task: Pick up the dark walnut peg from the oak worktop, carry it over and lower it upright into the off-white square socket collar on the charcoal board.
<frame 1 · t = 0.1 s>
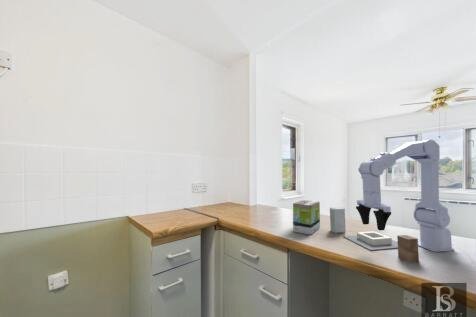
hand: (373, 226, 78), 10 cm above the worktop, tool pointing down, fingers open, 7 cm apart
skincare box: (337, 231, 104), on the worktop
tea box: (307, 230, 107), on the worktop
socket board: (373, 241, 89), on the worktop
walnut peg: (408, 259, 72), on the worktop
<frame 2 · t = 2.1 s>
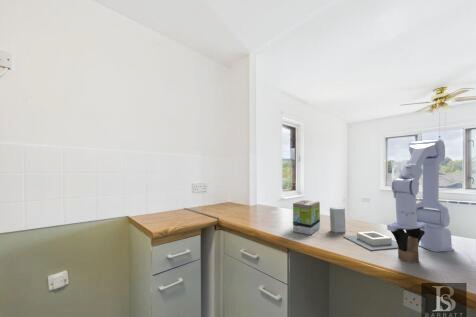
hand: (407, 249, 72), 3 cm above the worktop, tool pointing down, fingers closed on walnut peg, 4 cm apart
walnut peg: (408, 259, 72), on the worktop, touching gripper
everything else where it was.
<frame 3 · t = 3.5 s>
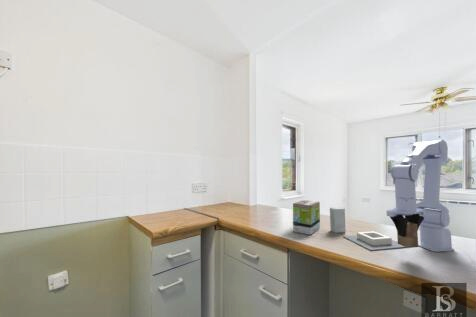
hand: (407, 235, 72), 8 cm above the worktop, tool pointing down, fingers closed on walnut peg, 4 cm apart
walnut peg: (407, 245, 72), point 5 cm above the worktop, touching gripper
everything else where it was.
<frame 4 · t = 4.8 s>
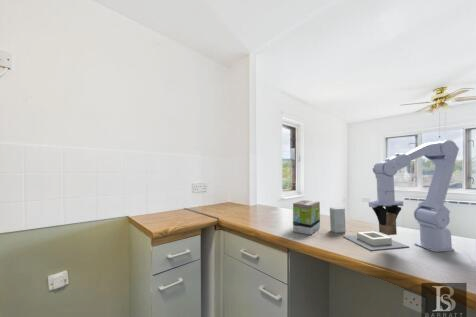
hand: (387, 224, 81), 10 cm above the worktop, tool pointing down, fingers closed on walnut peg, 4 cm apart
walnut peg: (387, 233, 81), point 6 cm above the worktop, touching gripper
everything else where it was.
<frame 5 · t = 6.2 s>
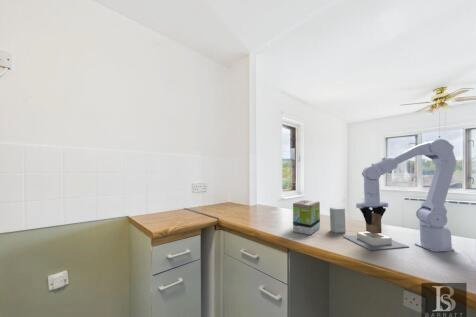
hand: (373, 223, 89), 8 cm above the worktop, tool pointing down, fingers closed on walnut peg, 4 cm apart
walnut peg: (373, 232, 89), point 4 cm above the worktop, touching gripper
everything else where it was.
when the fingers open (4 cm above the worktop, at t = 7.4 s): walnut peg stays where it is, resting on socket board.
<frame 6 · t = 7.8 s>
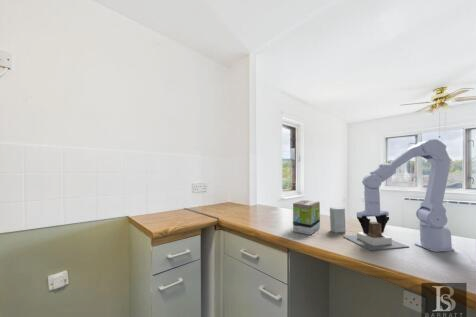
hand: (373, 232, 89), 4 cm above the worktop, tool pointing down, fingers open, 7 cm apart
walnut peg: (374, 241, 89), resting on socket board
everything else where it was.
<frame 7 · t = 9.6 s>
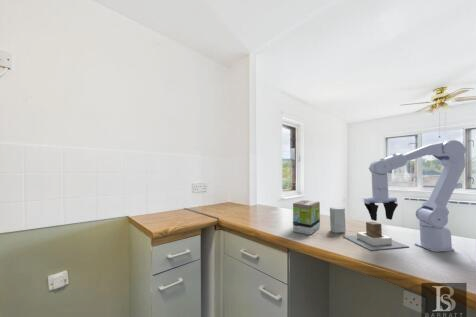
hand: (381, 219, 87), 10 cm above the worktop, tool pointing down, fingers open, 7 cm apart
nothing on the worktop moved.
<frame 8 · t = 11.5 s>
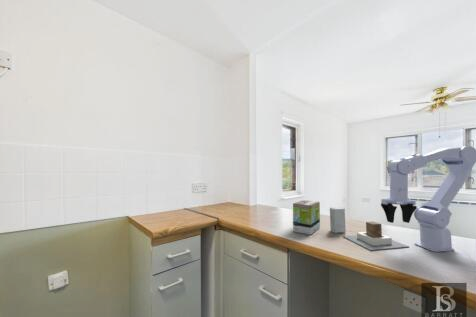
hand: (398, 222, 83), 10 cm above the worktop, tool pointing down, fingers open, 7 cm apart
nothing on the worktop moved.
at the end: walnut peg 0.2 cm off-centre on the socket board, point 0.4 cm above the socket board's base; walnut peg tilted 0°; the gripper is holding nothing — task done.
